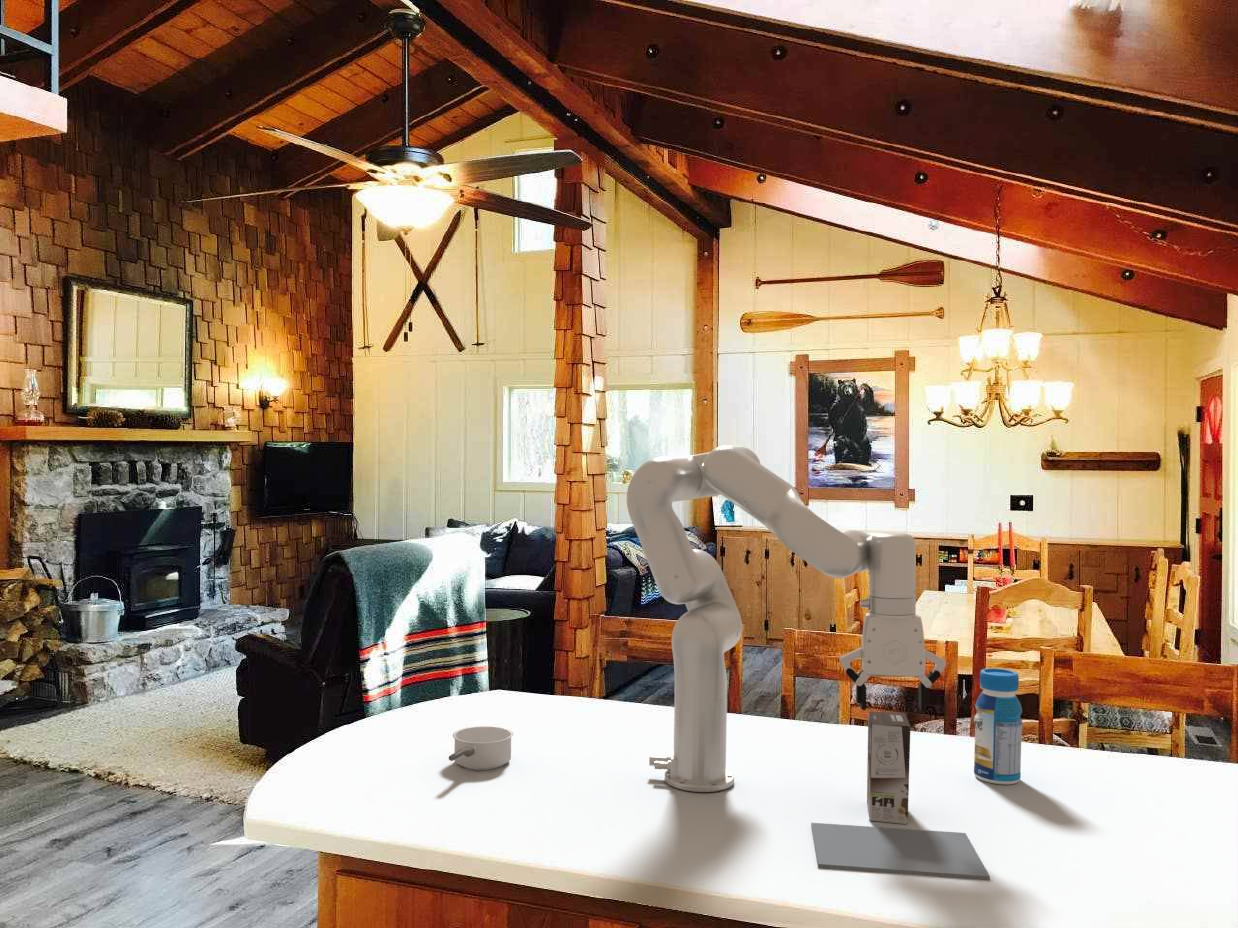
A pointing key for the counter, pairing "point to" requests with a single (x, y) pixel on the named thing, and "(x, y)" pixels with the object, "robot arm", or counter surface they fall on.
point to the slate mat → (896, 851)
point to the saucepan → (482, 747)
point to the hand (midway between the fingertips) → (892, 708)
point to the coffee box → (888, 767)
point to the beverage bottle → (998, 728)
